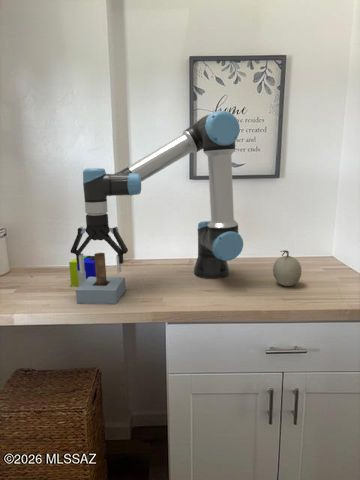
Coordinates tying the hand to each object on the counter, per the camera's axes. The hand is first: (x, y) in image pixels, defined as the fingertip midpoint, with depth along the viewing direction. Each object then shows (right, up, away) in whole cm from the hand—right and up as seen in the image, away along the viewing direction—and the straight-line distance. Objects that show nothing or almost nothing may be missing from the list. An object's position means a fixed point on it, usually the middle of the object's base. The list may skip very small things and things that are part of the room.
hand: (100, 272), depth 126 cm
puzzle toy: (-9, -6, +17) cm, 20 cm away
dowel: (0, -9, +2) cm, 9 cm away
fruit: (+70, -6, +11) cm, 71 cm away
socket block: (0, -9, +2) cm, 9 cm away
